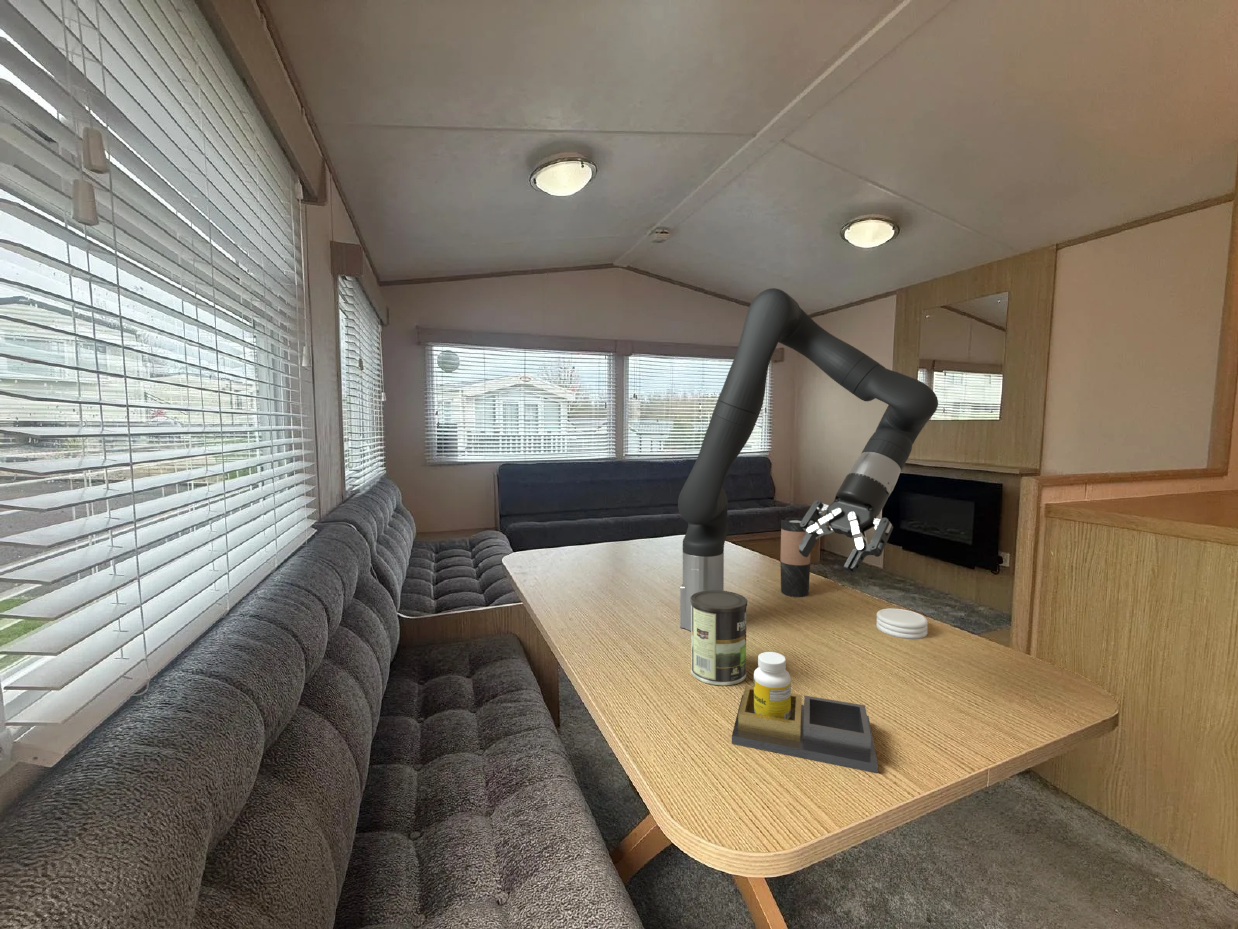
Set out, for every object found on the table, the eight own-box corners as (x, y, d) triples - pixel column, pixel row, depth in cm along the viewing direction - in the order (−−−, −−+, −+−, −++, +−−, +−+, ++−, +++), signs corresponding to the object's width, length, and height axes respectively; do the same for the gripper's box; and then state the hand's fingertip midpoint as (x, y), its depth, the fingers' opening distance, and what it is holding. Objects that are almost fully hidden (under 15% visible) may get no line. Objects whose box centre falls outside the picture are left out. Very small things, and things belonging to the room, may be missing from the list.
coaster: (938, 638, 111) (938, 622, 111) (895, 641, 110) (896, 625, 109) (906, 621, 121) (906, 606, 121) (866, 623, 120) (867, 608, 119)
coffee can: (749, 664, 100) (750, 592, 98) (742, 690, 90) (743, 611, 89) (696, 656, 103) (696, 587, 102) (684, 680, 94) (684, 604, 92)
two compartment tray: (731, 743, 75) (731, 719, 75) (742, 701, 86) (742, 680, 86) (877, 773, 68) (878, 746, 68) (868, 723, 80) (868, 700, 79)
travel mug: (813, 597, 137) (815, 522, 136) (784, 597, 137) (785, 522, 136) (804, 588, 145) (805, 517, 143) (776, 588, 145) (777, 517, 143)
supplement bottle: (749, 710, 81) (749, 650, 81) (783, 708, 82) (783, 648, 81) (760, 731, 76) (759, 666, 75) (796, 729, 76) (796, 665, 75)
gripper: (823, 464, 94) (779, 539, 91) (902, 480, 82) (854, 567, 79) (839, 487, 98) (798, 559, 95) (916, 505, 86) (872, 588, 83)
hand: (824, 563), depth 87 cm, fingers open, 8 cm apart
